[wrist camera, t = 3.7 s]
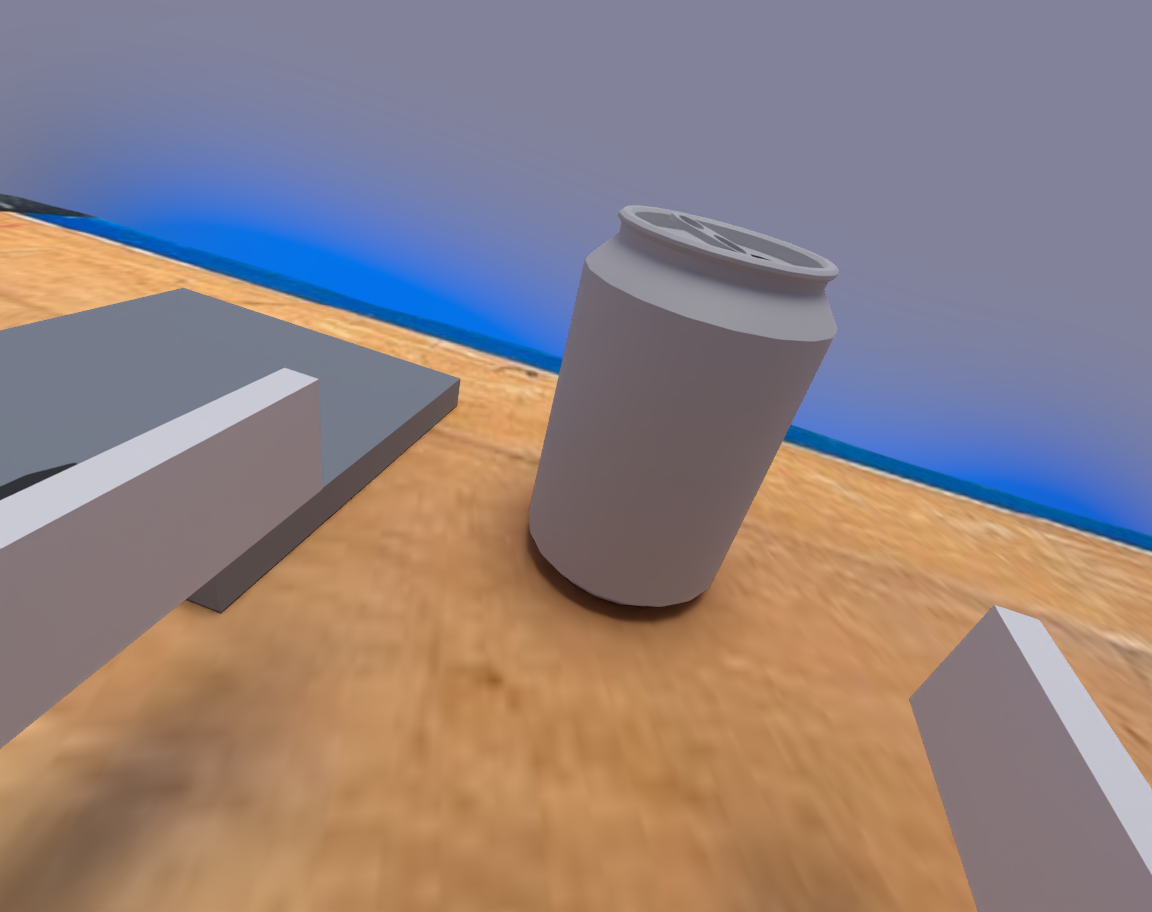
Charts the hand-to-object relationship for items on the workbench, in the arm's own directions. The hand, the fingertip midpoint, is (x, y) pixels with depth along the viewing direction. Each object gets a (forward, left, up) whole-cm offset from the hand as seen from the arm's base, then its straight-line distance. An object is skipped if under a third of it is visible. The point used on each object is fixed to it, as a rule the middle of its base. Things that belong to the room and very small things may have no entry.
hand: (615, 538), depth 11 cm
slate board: (+18, -7, -7) cm, 20 cm away
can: (0, -8, -7) cm, 11 cm away
